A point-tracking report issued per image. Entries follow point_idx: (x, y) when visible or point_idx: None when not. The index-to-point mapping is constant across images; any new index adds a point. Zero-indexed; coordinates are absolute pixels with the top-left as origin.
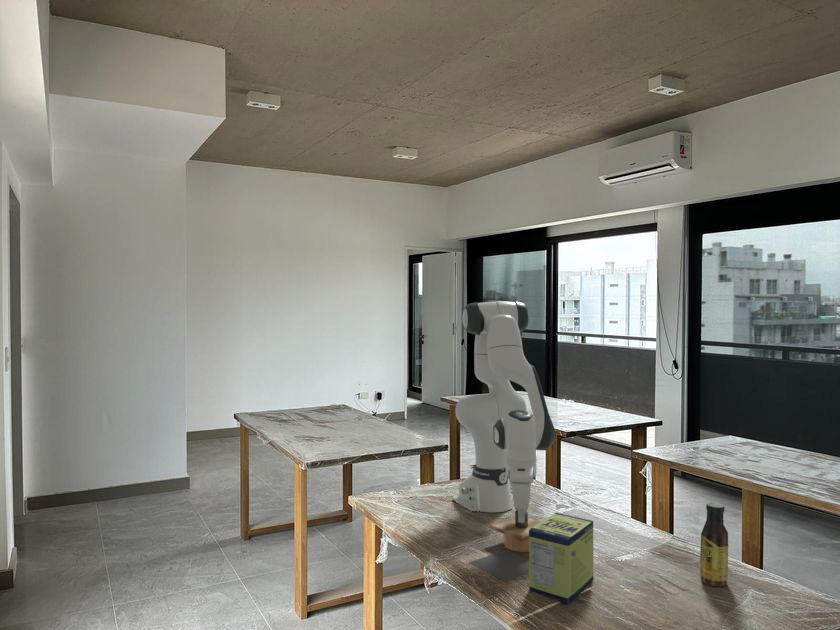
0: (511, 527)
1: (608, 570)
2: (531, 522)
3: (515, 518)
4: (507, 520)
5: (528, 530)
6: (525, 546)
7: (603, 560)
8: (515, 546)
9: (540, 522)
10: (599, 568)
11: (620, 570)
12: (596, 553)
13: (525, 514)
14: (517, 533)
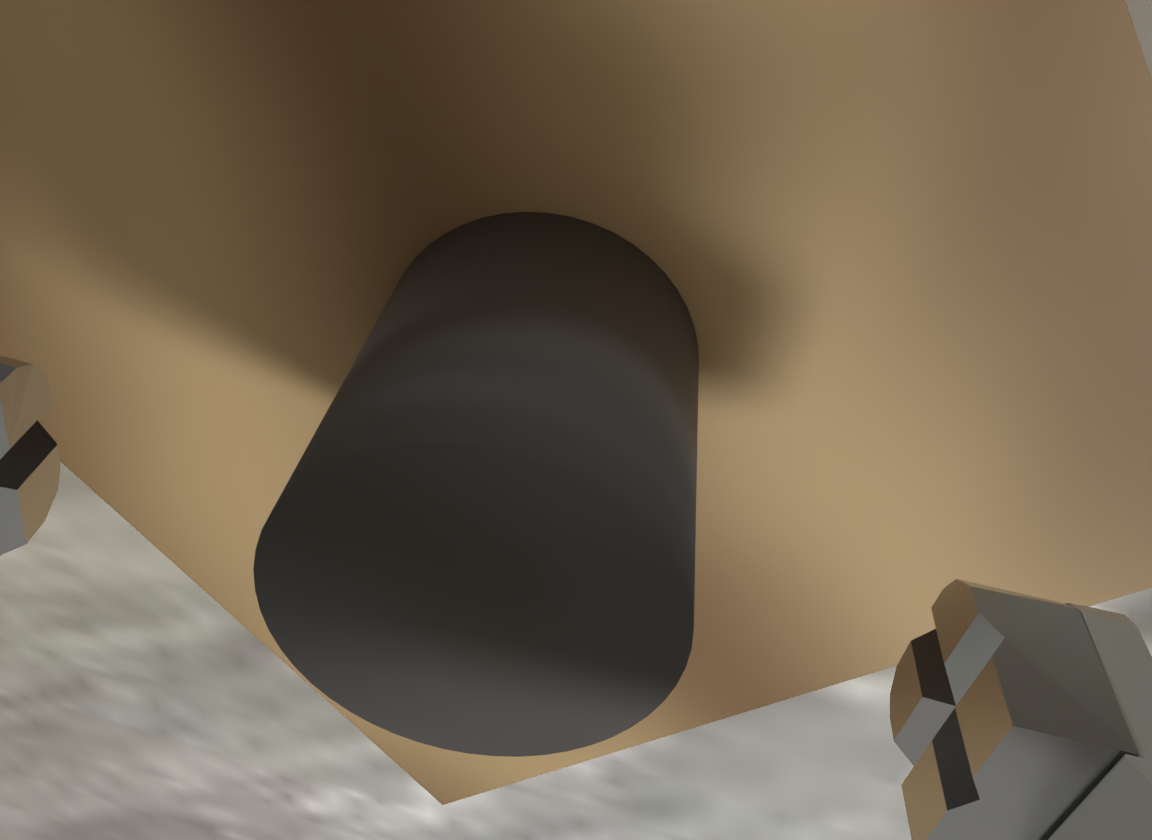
0: (432, 80)
1: (12, 775)
2: (734, 593)
3: (475, 321)
4: (1035, 90)
5: (249, 424)
6: None
7: (219, 813)
8: None
9: (703, 717)
10: (33, 739)
11: (39, 835)
12: (373, 822)
13: (305, 656)
14: (8, 140)
